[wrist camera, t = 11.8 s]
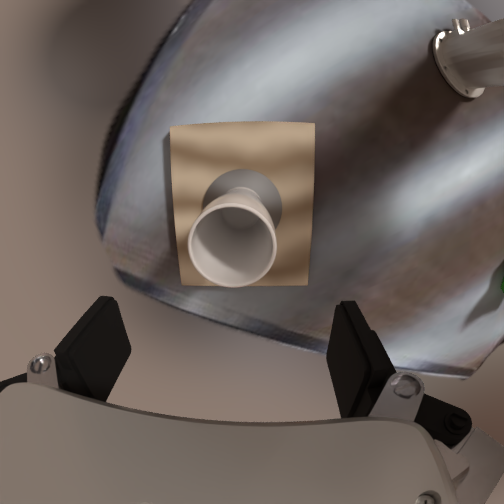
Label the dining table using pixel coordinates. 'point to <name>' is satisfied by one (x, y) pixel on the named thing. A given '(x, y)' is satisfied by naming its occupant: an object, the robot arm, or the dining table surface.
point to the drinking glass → (233, 239)
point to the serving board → (251, 176)
